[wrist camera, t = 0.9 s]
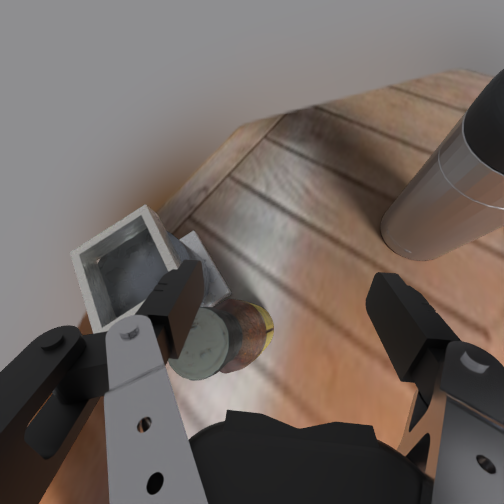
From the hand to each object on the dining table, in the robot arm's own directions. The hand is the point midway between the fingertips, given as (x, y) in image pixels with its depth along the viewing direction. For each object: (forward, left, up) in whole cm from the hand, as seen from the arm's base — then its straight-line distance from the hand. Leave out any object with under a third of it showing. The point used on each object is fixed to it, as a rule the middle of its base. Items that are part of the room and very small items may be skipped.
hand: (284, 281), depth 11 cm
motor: (+13, -13, -22) cm, 29 cm away
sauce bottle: (+6, -1, -23) cm, 23 cm away
